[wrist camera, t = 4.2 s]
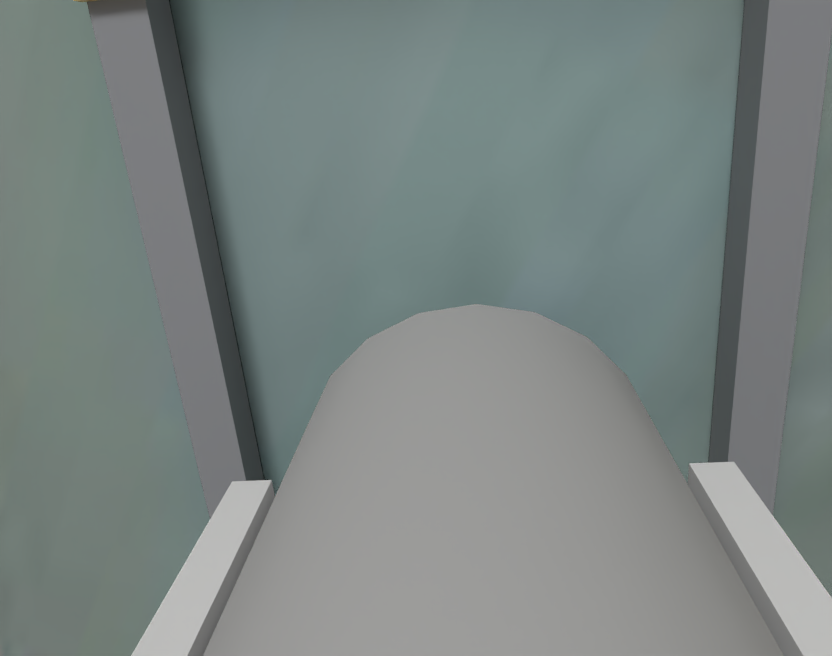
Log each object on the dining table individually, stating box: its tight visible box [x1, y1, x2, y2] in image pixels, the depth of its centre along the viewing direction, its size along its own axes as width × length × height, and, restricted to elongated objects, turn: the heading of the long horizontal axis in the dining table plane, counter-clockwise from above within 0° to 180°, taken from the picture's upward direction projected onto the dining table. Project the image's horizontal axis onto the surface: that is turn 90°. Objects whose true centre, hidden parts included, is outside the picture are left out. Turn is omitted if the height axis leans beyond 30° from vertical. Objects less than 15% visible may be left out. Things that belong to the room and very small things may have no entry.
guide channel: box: [74, 0, 832, 519], centre depth 12 cm, size 24×15×6 cm, turn 5°
